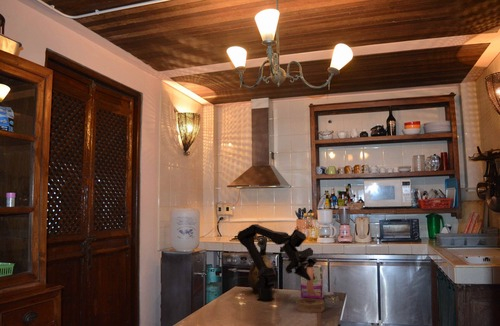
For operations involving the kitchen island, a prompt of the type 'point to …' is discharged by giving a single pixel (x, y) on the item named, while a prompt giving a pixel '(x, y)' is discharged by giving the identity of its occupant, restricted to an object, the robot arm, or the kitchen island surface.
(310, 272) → the dowel
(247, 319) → the kitchen island surface
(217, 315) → the kitchen island surface
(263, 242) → the ceramic jug
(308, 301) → the wooden bowl
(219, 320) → the kitchen island surface
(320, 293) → the candy bar box
